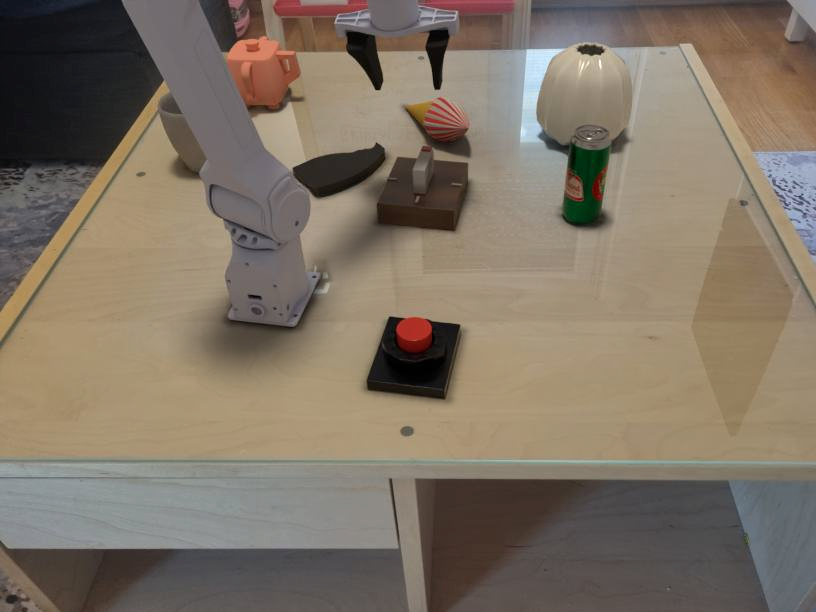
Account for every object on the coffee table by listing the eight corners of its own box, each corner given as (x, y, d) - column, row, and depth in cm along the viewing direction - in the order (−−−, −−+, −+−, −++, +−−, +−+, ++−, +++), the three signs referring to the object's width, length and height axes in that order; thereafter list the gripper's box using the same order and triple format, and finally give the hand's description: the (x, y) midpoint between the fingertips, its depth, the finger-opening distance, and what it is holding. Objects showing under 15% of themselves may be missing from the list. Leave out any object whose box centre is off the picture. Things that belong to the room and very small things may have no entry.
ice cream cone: (414, 131, 124) (478, 156, 109) (382, 118, 120) (443, 142, 105) (427, 95, 123) (494, 115, 108) (395, 80, 119) (459, 99, 104)
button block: (444, 398, 75) (444, 377, 73) (367, 388, 76) (364, 368, 74) (460, 332, 82) (460, 311, 80) (389, 324, 83) (387, 303, 81)
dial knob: (425, 194, 97) (424, 168, 94) (413, 193, 97) (412, 167, 94) (434, 170, 101) (433, 145, 98) (422, 169, 101) (421, 144, 99)
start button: (428, 355, 76) (428, 342, 74) (393, 350, 76) (392, 338, 75) (435, 331, 78) (434, 318, 77) (401, 327, 79) (400, 315, 77)
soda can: (555, 209, 100) (564, 126, 91) (588, 202, 101) (600, 119, 93) (572, 230, 96) (583, 145, 88) (606, 222, 98) (621, 138, 89)
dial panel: (454, 230, 96) (454, 209, 94) (377, 222, 97) (375, 202, 95) (468, 181, 105) (469, 161, 103) (397, 175, 106) (396, 155, 104)
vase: (528, 152, 111) (535, 63, 102) (543, 110, 121) (550, 25, 111) (622, 164, 108) (637, 74, 99) (629, 120, 118) (644, 34, 109)
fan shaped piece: (402, 170, 107) (402, 160, 106) (317, 199, 101) (315, 189, 100) (373, 146, 112) (372, 136, 111) (290, 172, 106) (288, 162, 105)
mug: (243, 171, 107) (229, 107, 100) (179, 184, 104) (161, 119, 97) (227, 134, 115) (213, 72, 108) (168, 145, 112) (150, 83, 105)
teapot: (211, 98, 124) (197, 39, 117) (275, 78, 129) (265, 21, 122) (245, 123, 117) (232, 63, 110) (310, 101, 123) (302, 42, 116)
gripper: (457, -42, 84) (469, 65, 95) (334, -37, 86) (360, 66, 97) (448, -8, 80) (462, 100, 91) (319, -4, 82) (348, 100, 93)
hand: (408, 85), depth 94 cm, fingers open, 7 cm apart
